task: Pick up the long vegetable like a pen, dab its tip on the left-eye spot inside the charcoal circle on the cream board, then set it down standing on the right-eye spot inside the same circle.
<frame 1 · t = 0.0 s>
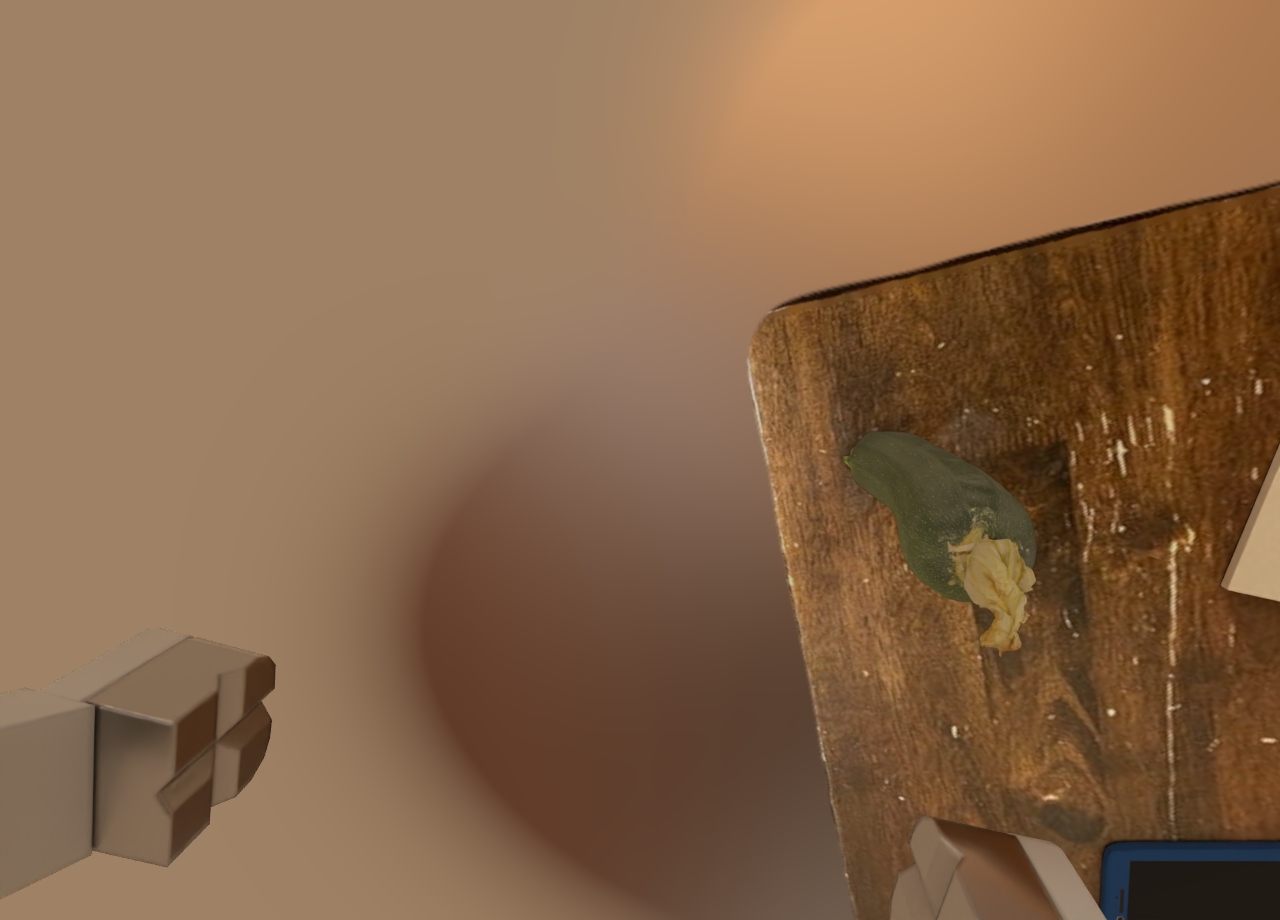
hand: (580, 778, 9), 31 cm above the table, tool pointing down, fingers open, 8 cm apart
cell phone: (1223, 892, 42), on the table
vegetable: (879, 455, 39), on the table
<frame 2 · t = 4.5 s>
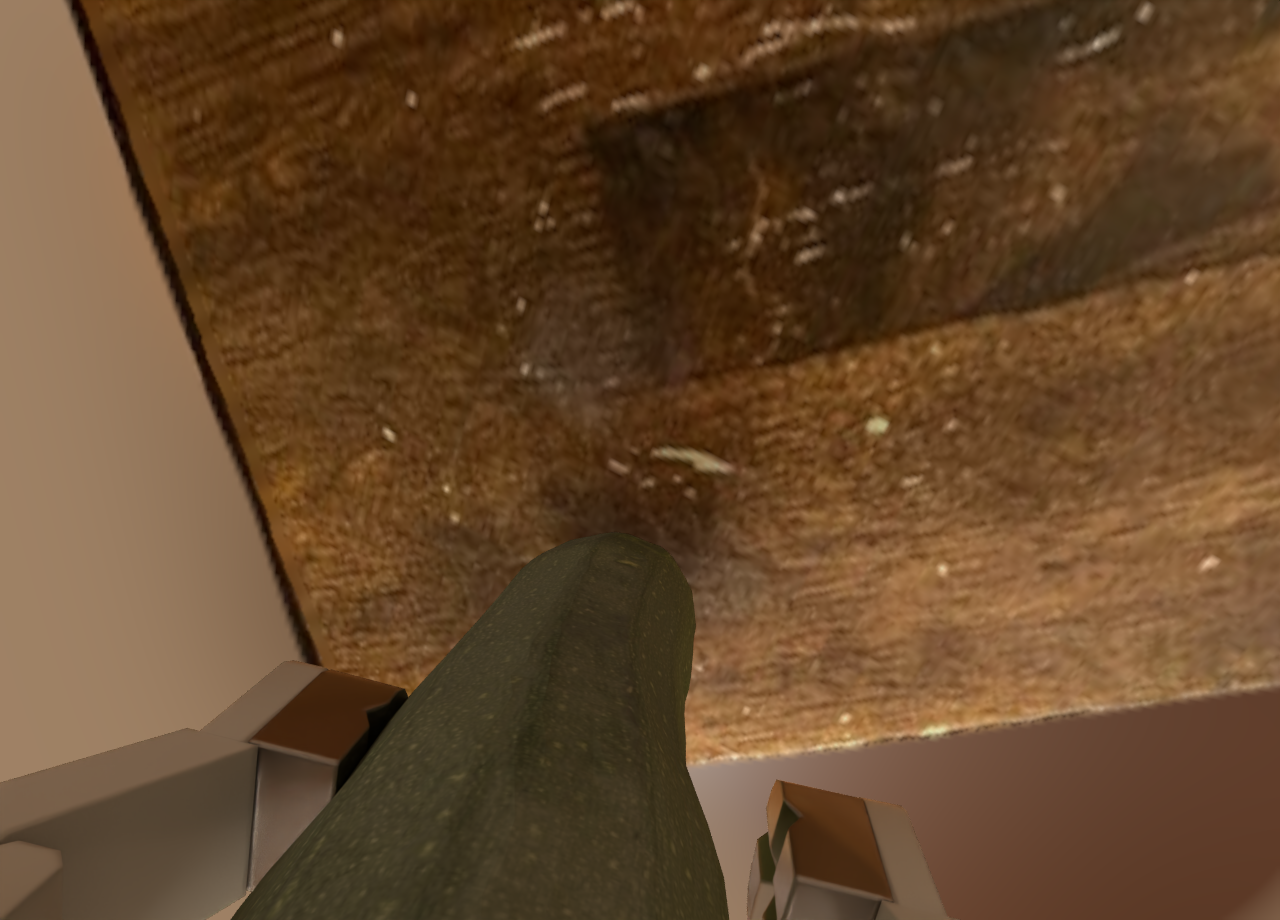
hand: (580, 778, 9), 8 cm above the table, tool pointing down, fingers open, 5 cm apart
vegetable: (636, 545, 17), on the table, touching arm, gripper
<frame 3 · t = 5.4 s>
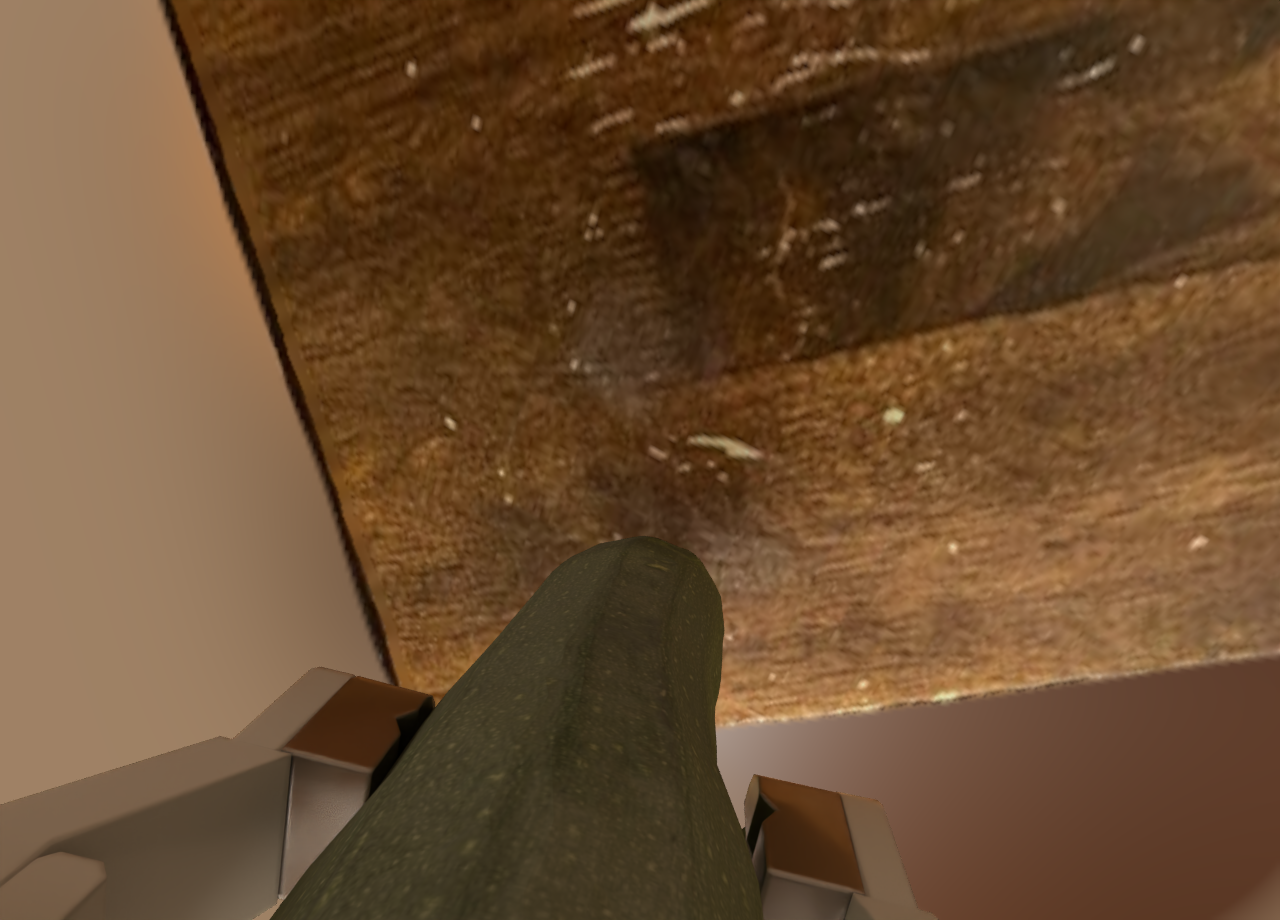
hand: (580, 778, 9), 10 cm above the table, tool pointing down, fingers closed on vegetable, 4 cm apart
vegetable: (664, 549, 17), point 2 cm above the table, touching arm, gripper
when the fingers open (9 cm above the table, at t = 14.2 s): vegetable stays where it is, resting on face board.
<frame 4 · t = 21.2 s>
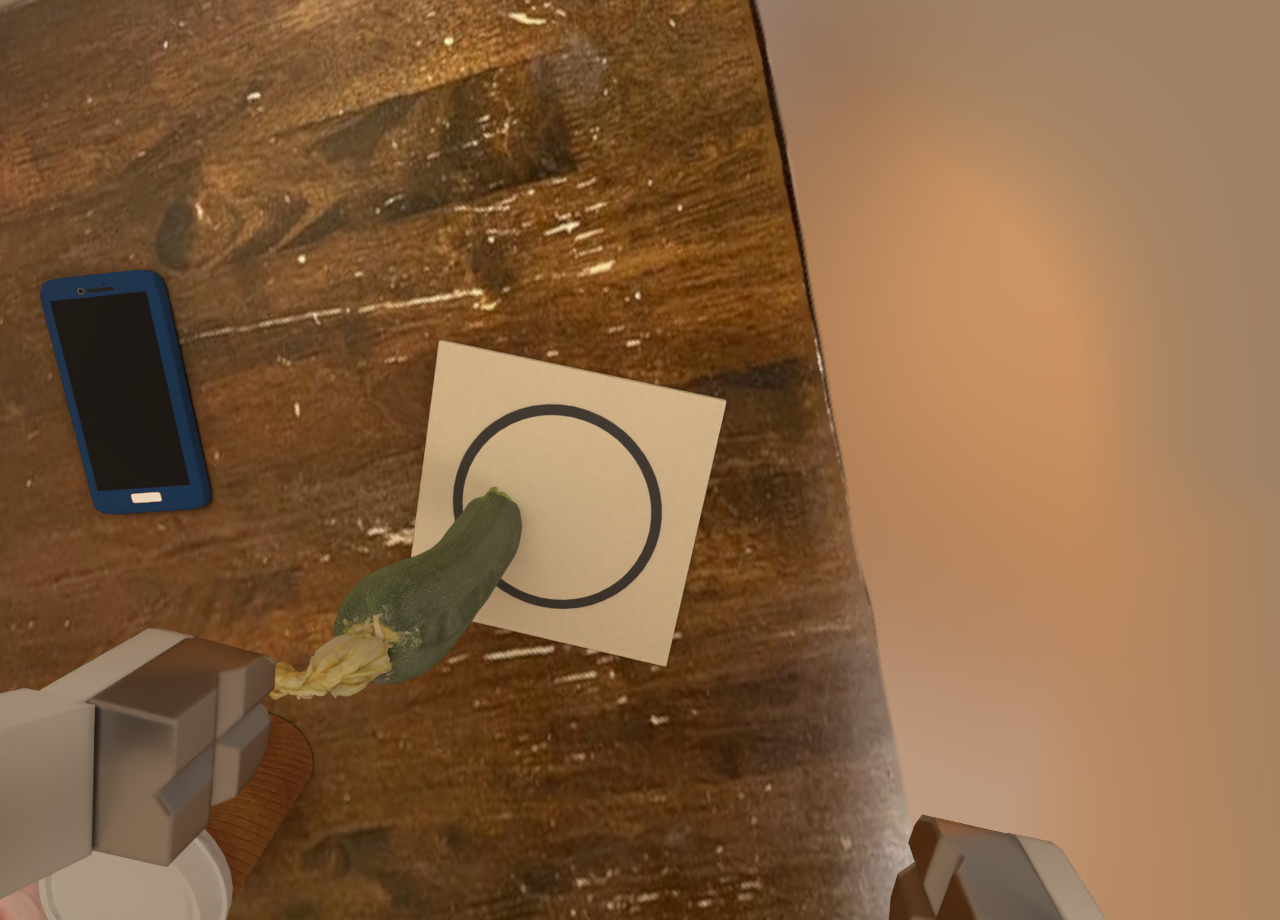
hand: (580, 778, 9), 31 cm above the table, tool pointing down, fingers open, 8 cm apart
cupcake: (83, 832, 50), on the table
cell phone: (135, 395, 42), on the table
disposable coffee cup: (269, 753, 47), on the table
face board: (558, 506, 41), on the table
vegetable: (503, 517, 41), point 1 cm above the table, touching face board
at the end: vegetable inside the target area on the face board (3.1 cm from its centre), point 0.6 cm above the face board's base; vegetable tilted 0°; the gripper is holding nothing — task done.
